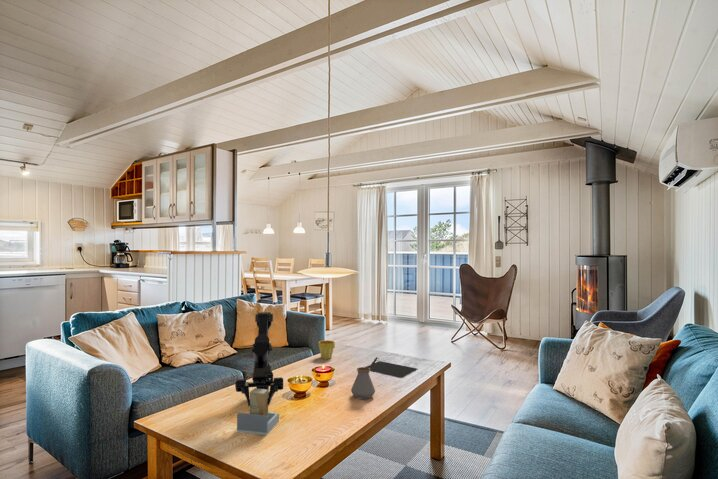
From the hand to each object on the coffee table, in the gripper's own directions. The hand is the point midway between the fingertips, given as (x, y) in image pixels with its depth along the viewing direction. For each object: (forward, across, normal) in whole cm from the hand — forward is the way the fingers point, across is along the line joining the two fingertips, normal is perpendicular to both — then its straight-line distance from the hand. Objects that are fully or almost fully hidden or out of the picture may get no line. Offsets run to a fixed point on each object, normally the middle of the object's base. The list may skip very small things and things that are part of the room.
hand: (258, 405), depth 156 cm
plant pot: (-59, +37, +74) cm, 101 cm away
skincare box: (+4, 0, +6) cm, 7 cm away
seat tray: (+5, 0, +7) cm, 9 cm away
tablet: (-39, +71, +53) cm, 96 cm away
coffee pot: (-15, +50, +28) cm, 59 cm away
